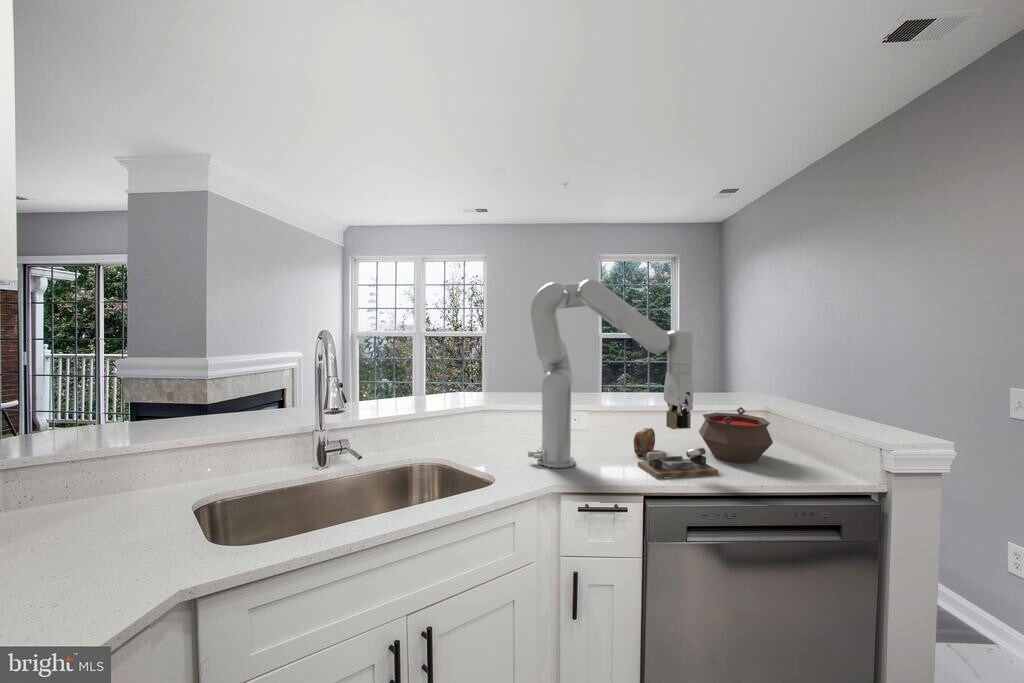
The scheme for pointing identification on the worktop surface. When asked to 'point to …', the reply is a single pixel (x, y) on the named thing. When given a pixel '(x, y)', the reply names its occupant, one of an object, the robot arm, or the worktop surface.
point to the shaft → (697, 456)
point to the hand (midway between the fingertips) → (678, 425)
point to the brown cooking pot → (736, 436)
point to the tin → (644, 441)
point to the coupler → (675, 420)
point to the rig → (673, 466)
